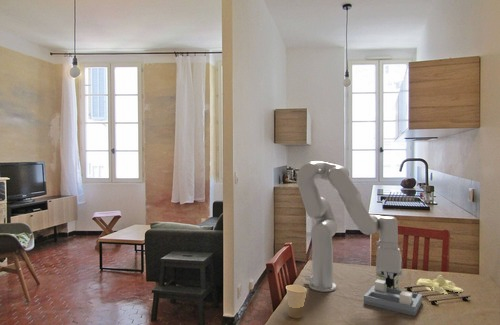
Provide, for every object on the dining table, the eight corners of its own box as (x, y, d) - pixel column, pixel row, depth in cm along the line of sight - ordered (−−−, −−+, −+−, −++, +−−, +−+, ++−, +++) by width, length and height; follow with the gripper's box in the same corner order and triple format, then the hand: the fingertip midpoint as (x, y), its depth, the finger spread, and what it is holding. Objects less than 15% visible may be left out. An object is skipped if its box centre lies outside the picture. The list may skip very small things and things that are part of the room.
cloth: (410, 280, 181) (410, 268, 181) (446, 280, 181) (447, 268, 181) (432, 298, 158) (432, 284, 158) (474, 298, 159) (474, 284, 158)
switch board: (363, 303, 152) (363, 295, 152) (374, 292, 164) (374, 284, 164) (414, 316, 141) (414, 307, 141) (422, 302, 153) (422, 294, 153)
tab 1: (374, 292, 159) (374, 281, 159) (377, 290, 162) (377, 279, 162) (384, 295, 157) (384, 283, 157) (386, 292, 160) (386, 280, 160)
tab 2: (399, 306, 145) (399, 294, 145) (401, 303, 148) (401, 291, 148) (410, 309, 143) (410, 296, 143) (412, 305, 146) (412, 293, 146)
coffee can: (375, 281, 178) (375, 253, 177) (398, 284, 174) (398, 255, 174) (375, 289, 168) (375, 259, 168) (399, 291, 165) (399, 261, 164)
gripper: (368, 244, 158) (369, 286, 159) (405, 249, 150) (406, 292, 150) (373, 241, 164) (374, 281, 165) (408, 245, 156) (409, 287, 156)
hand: (389, 286), depth 157 cm, fingers closed
